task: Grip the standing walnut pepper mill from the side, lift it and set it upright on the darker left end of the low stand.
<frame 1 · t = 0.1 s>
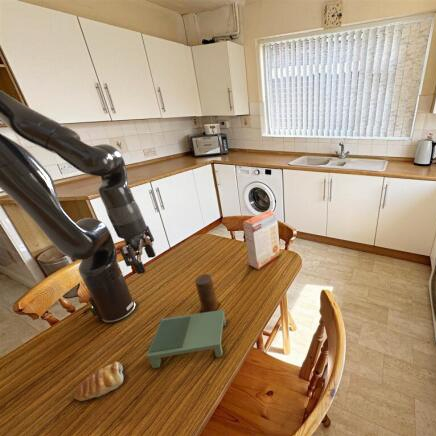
hand: (147, 264, 74), 17 cm above the table, tool pointing down, fingers open, 8 cm apart
stand: (192, 342, 68), on the table
cracker box: (264, 260, 104), on the table
pepper mill: (210, 307, 80), on the table
pastry: (105, 385, 58), on the table
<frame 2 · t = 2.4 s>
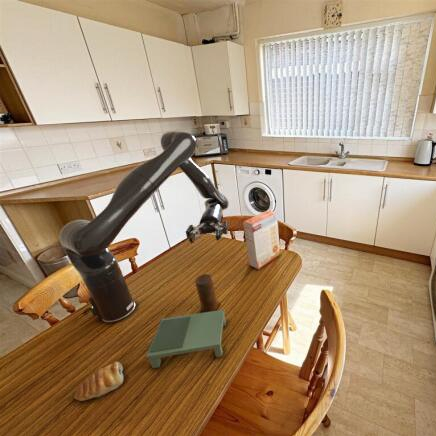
hand: (204, 239, 81), 20 cm above the table, tool horizontal, fingers open, 8 cm apart
nothing on the table moved.
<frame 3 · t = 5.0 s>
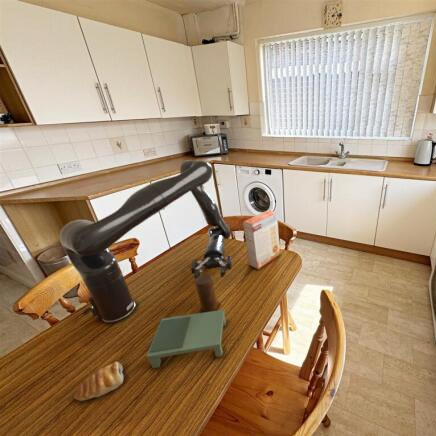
hand: (209, 276, 84), 7 cm above the table, tool horizontal, fingers open, 8 cm apart
nothing on the table moved.
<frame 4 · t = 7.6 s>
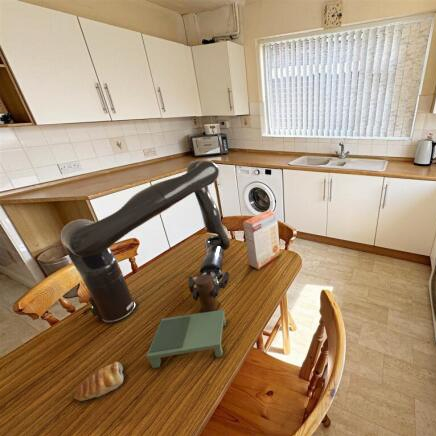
hand: (205, 297, 75), 7 cm above the table, tool horizontal, fingers closed on pepper mill, 5 cm apart
pepper mill: (210, 307, 80), on the table, touching gripper
everything else where it was.
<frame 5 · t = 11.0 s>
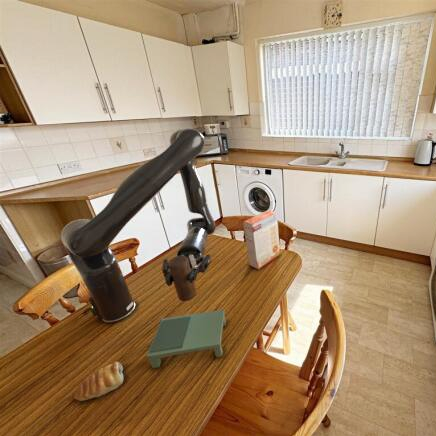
hand: (179, 281, 64), 19 cm above the table, tool horizontal, fingers closed on pepper mill, 5 cm apart
pepper mill: (187, 294, 69), point 12 cm above the table, touching gripper
everything else where it was.
when the fingers open (12 cm above the table, at t = 14.5 s): pepper mill stays where it is, resting on stand.
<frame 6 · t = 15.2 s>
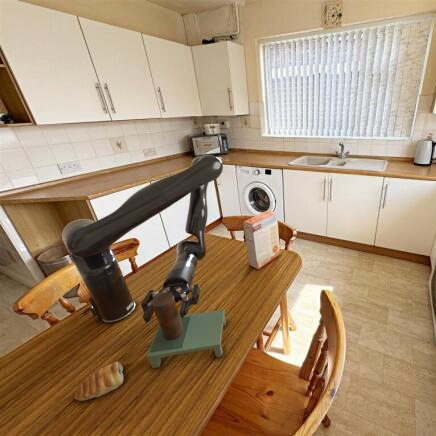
hand: (164, 317, 60), 13 cm above the table, tool horizontal, fingers open, 8 cm apart
pepper mill: (173, 332, 65), point 5 cm above the table, touching stand
everything else where it was.
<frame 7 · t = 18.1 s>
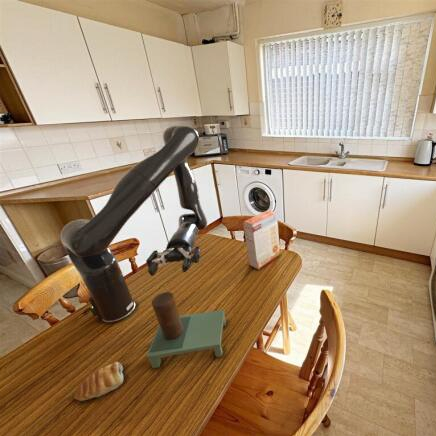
hand: (167, 271, 66), 20 cm above the table, tool horizontal, fingers open, 8 cm apart
nothing on the table moved.
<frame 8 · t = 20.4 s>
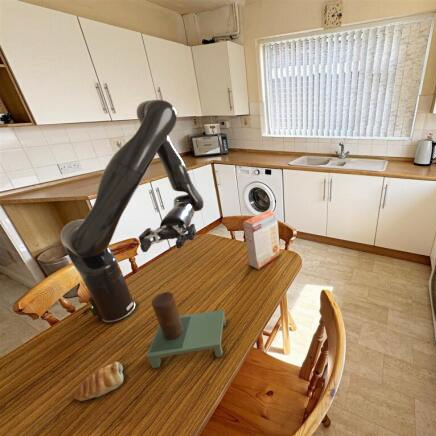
hand: (160, 247, 63), 28 cm above the table, tool horizontal, fingers open, 8 cm apart
nothing on the table moved.
at the end: pepper mill inside the target area on the stand (0.6 cm from its centre), point 5.2 cm above the stand's base; pepper mill tilted 0°; the gripper is holding nothing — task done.
